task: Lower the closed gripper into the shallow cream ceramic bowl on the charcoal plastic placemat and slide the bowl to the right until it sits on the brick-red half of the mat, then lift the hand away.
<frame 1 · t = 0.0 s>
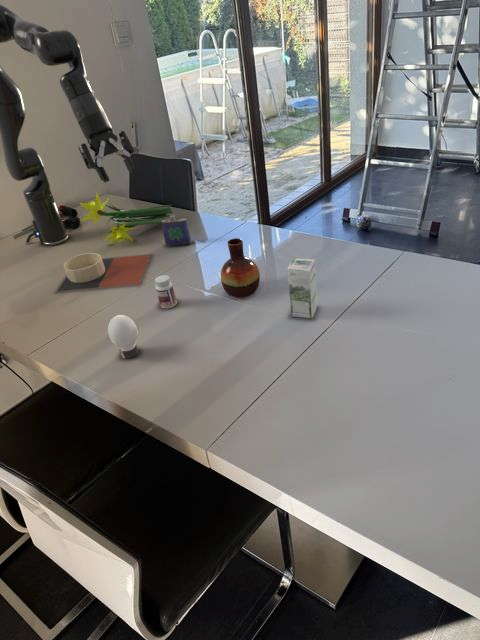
hand: (119, 176, 131), 31 cm above the table, tool tilted 20°, fingers open, 8 cm apart
flask: (179, 245, 167), on the table
bowl: (87, 273, 156), resting on placemat
syrup box: (304, 313, 125), on the table
placemat: (106, 273, 155), on the table
daffodil flowers: (137, 234, 179), on the table
pill bottle: (168, 305, 136), on the table
vase: (242, 291, 137), on the table
light bulb: (130, 354, 119), on the table
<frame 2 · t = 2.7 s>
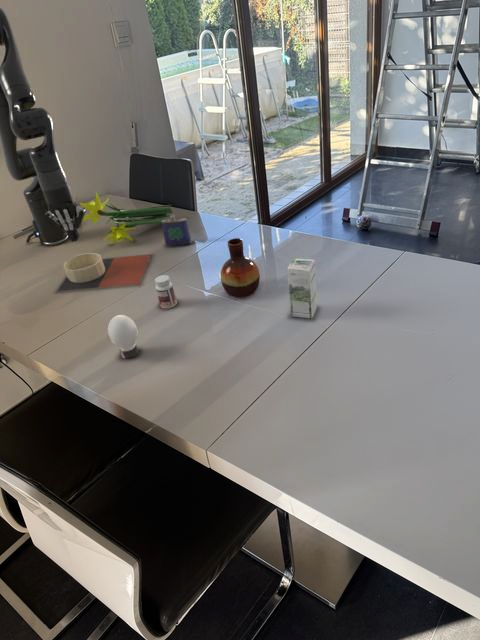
hand: (75, 240, 148), 12 cm above the table, tool pointing down, fingers closed
nothing on the table moved.
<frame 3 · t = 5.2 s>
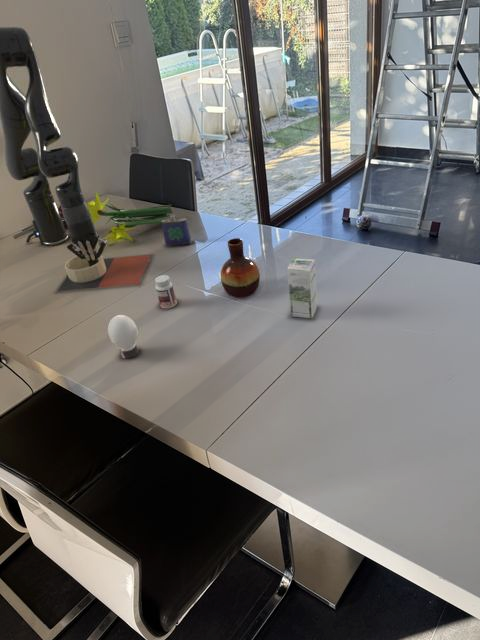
hand: (96, 269, 154), 2 cm above the table, tool pointing down, fingers closed
bowl: (88, 273, 156), resting on placemat, touching gripper
everything else where it was.
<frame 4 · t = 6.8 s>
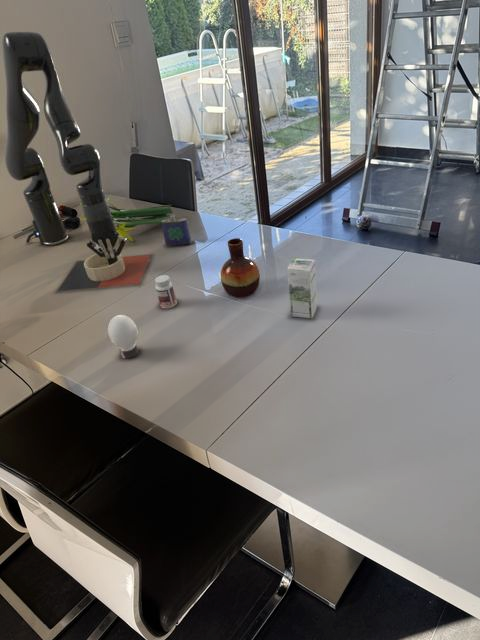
hand: (115, 267, 154), 2 cm above the table, tool pointing down, fingers closed
bowl: (107, 272, 155), resting on placemat
everything else where it was.
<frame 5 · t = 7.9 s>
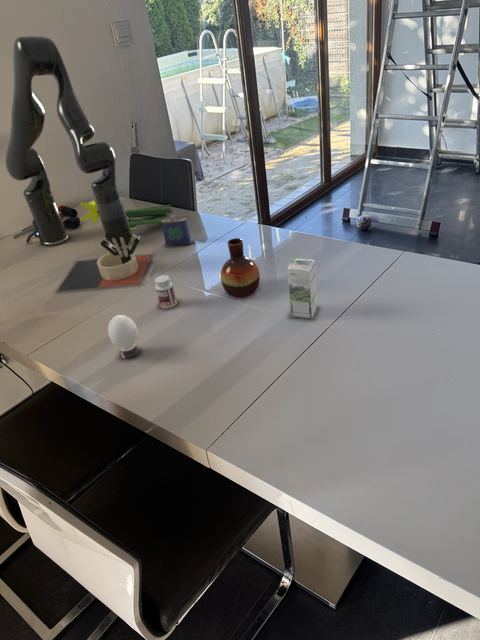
hand: (128, 265, 153), 2 cm above the table, tool pointing down, fingers closed
bowl: (120, 271, 154), resting on placemat, touching gripper
everything else where it was.
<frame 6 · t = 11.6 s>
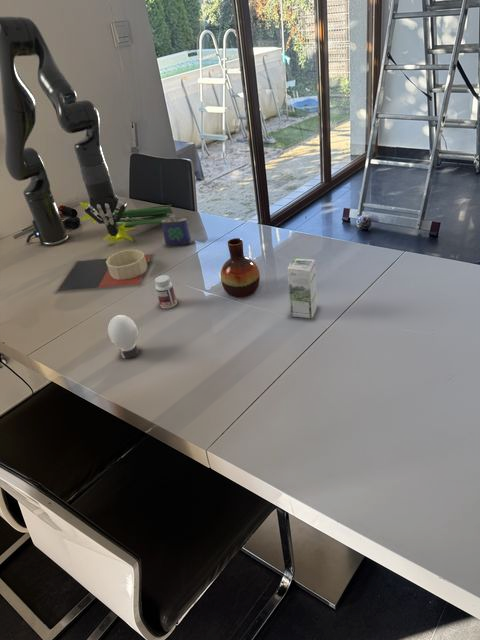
hand: (114, 235, 147), 13 cm above the table, tool pointing down, fingers closed
bowl: (129, 270, 154), resting on placemat
everything else where it was.
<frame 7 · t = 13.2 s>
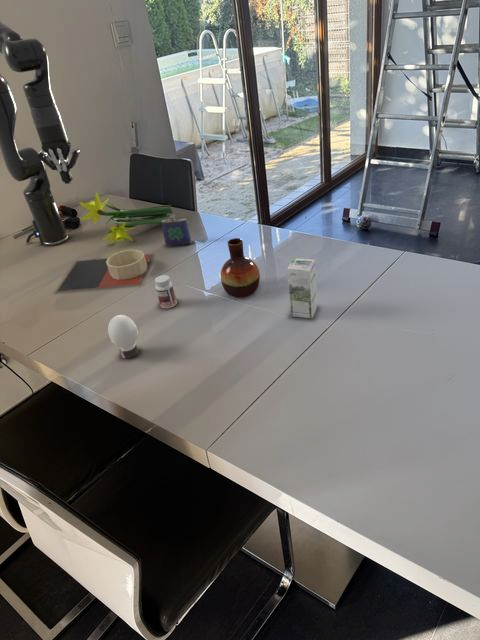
hand: (68, 182, 147), 27 cm above the table, tool pointing down, fingers closed
nothing on the table moved.
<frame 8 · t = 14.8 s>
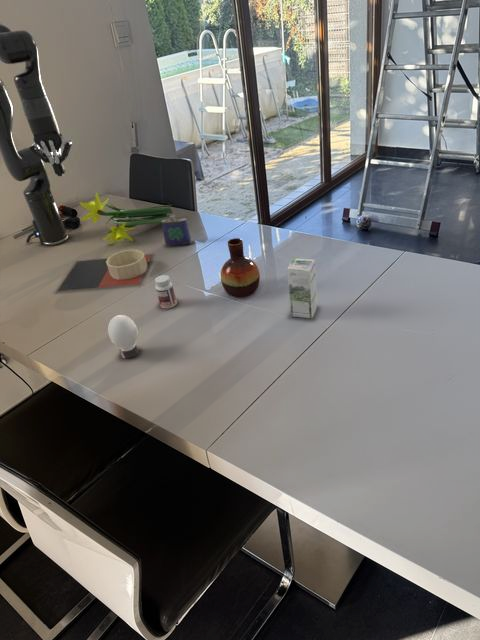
hand: (61, 175, 147), 29 cm above the table, tool pointing down, fingers closed
nothing on the table moved.
at the end: bowl inside the target area (1.1 cm from its centre), resting on placemat; bowl tilted 0°; bowl moved 14.2 cm from its start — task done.
